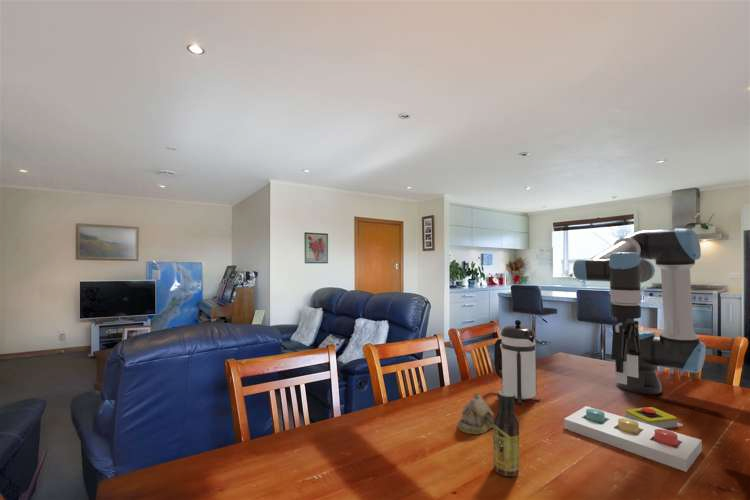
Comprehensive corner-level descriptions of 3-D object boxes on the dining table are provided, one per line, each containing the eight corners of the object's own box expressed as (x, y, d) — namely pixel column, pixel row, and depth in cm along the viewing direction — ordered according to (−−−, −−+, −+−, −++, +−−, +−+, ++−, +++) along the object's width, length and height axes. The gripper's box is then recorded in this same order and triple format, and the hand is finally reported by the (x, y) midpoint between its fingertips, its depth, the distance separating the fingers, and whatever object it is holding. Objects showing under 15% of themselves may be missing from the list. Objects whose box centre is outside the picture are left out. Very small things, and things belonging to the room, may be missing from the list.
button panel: (586, 414, 125) (586, 406, 125) (701, 450, 101) (701, 440, 101) (564, 428, 115) (564, 418, 115) (686, 471, 91) (685, 459, 92)
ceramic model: (467, 413, 127) (466, 384, 127) (500, 421, 121) (499, 391, 121) (451, 429, 115) (451, 397, 116) (487, 439, 109) (486, 405, 109)
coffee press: (540, 393, 145) (539, 317, 146) (540, 408, 131) (538, 324, 131) (495, 387, 152) (493, 315, 153) (490, 400, 138) (488, 321, 139)
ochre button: (622, 428, 112) (621, 416, 112) (641, 434, 108) (641, 422, 108) (615, 433, 109) (615, 421, 109) (635, 439, 105) (635, 427, 105)
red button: (657, 439, 105) (657, 427, 105) (680, 446, 101) (679, 433, 101) (652, 445, 102) (651, 432, 102) (674, 452, 98) (674, 439, 98)
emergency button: (619, 406, 123) (656, 402, 125) (620, 419, 123) (657, 415, 125) (644, 417, 114) (684, 413, 116) (645, 432, 113) (684, 427, 116)
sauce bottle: (489, 464, 95) (488, 388, 96) (512, 463, 96) (511, 387, 96) (500, 480, 89) (498, 397, 89) (524, 478, 89) (523, 396, 90)
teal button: (590, 418, 119) (590, 407, 119) (607, 423, 115) (607, 412, 115) (583, 422, 116) (583, 411, 116) (600, 428, 112) (600, 416, 112)
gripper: (624, 300, 119) (626, 369, 118) (596, 305, 106) (598, 384, 105) (652, 302, 113) (654, 375, 112) (626, 308, 100) (628, 391, 99)
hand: (627, 379), depth 109 cm, fingers open, 9 cm apart
